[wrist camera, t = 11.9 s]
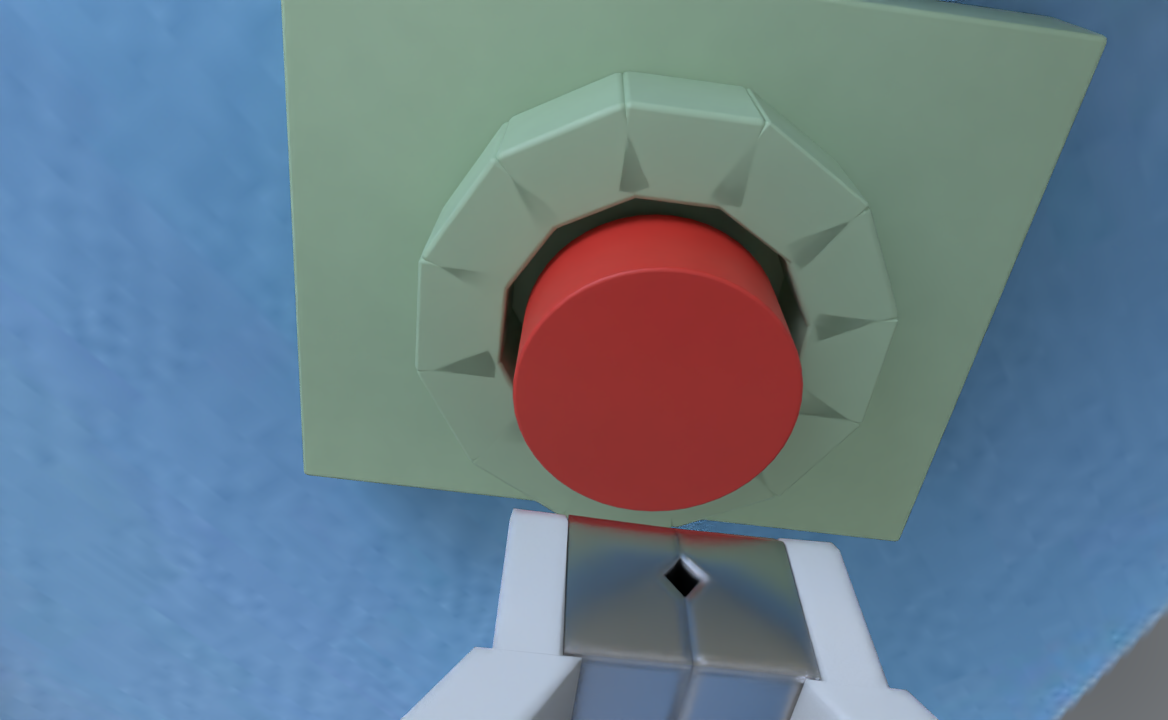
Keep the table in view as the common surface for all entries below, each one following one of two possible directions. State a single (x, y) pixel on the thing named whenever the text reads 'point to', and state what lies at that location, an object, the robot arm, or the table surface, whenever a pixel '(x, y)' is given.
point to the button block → (664, 187)
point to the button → (655, 365)
